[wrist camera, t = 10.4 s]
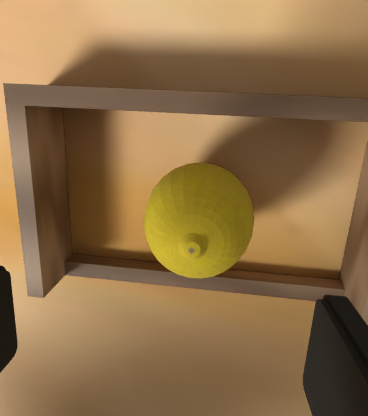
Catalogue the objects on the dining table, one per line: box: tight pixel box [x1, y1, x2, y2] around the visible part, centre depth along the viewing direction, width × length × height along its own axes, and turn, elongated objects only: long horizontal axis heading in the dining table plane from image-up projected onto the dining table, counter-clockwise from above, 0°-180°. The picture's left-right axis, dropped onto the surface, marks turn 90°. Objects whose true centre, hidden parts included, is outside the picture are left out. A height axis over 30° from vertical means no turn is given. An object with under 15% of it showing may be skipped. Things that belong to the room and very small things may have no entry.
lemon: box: [144, 163, 254, 279], centre depth 17 cm, size 6×6×8 cm
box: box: [3, 83, 368, 325], centre depth 19 cm, size 12×20×4 cm, turn 88°
